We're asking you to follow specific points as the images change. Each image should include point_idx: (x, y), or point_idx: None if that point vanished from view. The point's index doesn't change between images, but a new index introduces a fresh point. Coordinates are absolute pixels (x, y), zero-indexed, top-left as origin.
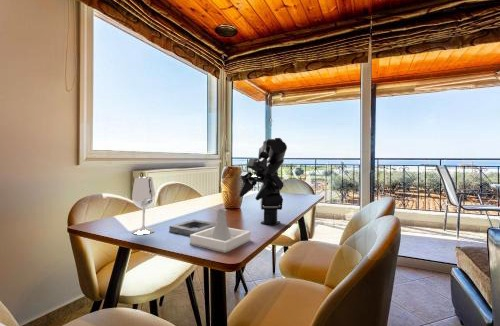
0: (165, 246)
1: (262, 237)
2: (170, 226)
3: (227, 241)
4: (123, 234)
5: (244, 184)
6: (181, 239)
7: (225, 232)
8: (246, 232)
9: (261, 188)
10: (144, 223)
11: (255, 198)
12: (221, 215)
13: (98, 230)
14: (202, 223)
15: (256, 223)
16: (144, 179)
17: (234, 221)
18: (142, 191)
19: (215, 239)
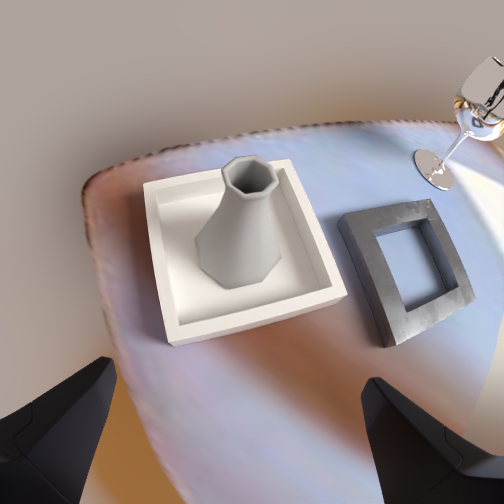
0: (304, 139)
1: (171, 414)
2: (427, 199)
3: (146, 193)
4: (425, 140)
5: (446, 457)
6: (339, 187)
7: (206, 226)
8: (170, 317)
9: (40, 425)
10: (444, 158)
11: (111, 358)
12: (231, 180)
13: (456, 135)
14: (433, 300)
15: None
16: (489, 60)
17: None
18: (468, 79)
19: (190, 179)
